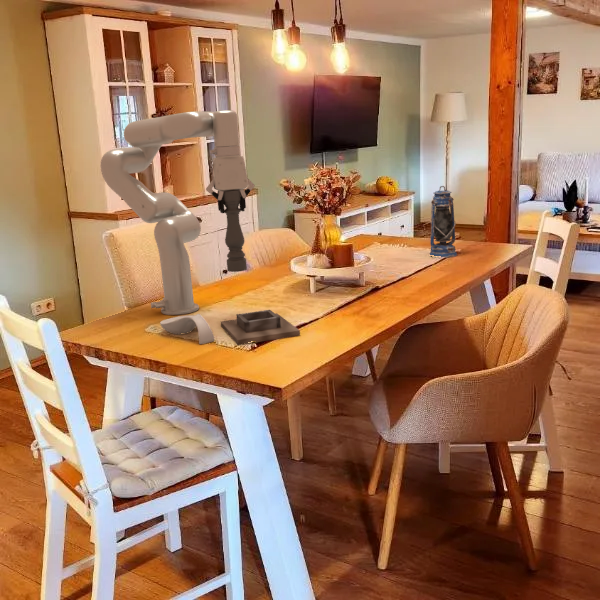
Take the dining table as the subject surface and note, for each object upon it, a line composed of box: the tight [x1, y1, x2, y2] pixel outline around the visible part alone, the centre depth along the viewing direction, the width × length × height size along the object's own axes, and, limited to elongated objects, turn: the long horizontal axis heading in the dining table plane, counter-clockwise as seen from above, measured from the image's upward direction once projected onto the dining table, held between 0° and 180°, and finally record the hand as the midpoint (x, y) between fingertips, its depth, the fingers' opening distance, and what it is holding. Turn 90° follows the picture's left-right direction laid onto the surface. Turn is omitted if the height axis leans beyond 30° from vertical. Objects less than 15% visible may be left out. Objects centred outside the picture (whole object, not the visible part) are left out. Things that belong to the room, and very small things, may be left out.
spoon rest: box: [159, 313, 215, 345], centre depth 202 cm, size 24×12×7 cm, turn 35°
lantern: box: [429, 185, 458, 259], centre depth 298 cm, size 15×12×30 cm
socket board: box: [220, 309, 301, 346], centre depth 202 cm, size 18×22×4 cm
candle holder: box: [222, 190, 248, 273], centre depth 216 cm, size 6×6×25 cm
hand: (232, 211), depth 214 cm, fingers closed on candle holder, 5 cm apart
